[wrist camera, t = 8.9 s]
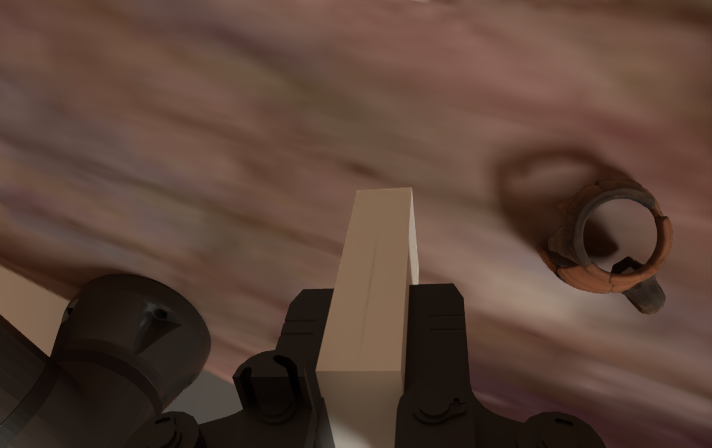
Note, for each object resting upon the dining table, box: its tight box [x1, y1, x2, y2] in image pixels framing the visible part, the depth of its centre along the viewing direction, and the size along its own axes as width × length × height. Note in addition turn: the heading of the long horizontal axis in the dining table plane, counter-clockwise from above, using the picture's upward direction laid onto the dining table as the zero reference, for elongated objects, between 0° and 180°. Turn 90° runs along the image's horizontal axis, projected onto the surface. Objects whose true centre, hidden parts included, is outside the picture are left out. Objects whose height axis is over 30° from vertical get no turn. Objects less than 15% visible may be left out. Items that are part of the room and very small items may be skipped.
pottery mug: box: [537, 179, 673, 314], centre depth 45 cm, size 12×10×8 cm
